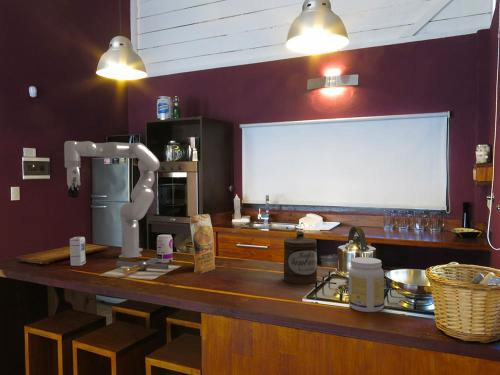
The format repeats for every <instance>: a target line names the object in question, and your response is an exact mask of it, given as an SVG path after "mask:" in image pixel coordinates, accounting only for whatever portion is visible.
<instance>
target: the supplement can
mask: <svg viewBox="0 0 500 375" xmlns="http://www.w3.org/2000/svg"><path fill="white" fill-rule="evenodd" d="M156 258H159V262H158V263H159V264H164V263H172V262H173V258H174V256H173V237H172V234H159V235H157V237H156Z"/></svg>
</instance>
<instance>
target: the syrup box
mask: <svg viewBox="0 0 500 375" xmlns="http://www.w3.org/2000/svg"><path fill="white" fill-rule="evenodd" d="M69 253H70V254H69V255H70V266H72V267H73V266H75V267H76V266H77V267H79V266H84V264H86V263H87V260H86V258H87V257H86V256H87V255H86V238H85V236H74V237H71V238H69Z"/></svg>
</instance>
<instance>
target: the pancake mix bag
mask: <svg viewBox="0 0 500 375" xmlns="http://www.w3.org/2000/svg"><path fill="white" fill-rule="evenodd" d="M188 223H189V229H190V240H191V243H192V244H191V245H192V248H193V249H192V250H193V273H196V272H198V273H197V274H198V275H200V274H204V273H208V272H210V271H213V270H215V269H216V264H215V260H216V259H215V239H214V230H213V225H212V219H211V215H210V213H204V214H194V215H191V216H190V217H189V222H188Z"/></svg>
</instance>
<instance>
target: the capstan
mask: <svg viewBox="0 0 500 375" xmlns="http://www.w3.org/2000/svg"><path fill="white" fill-rule="evenodd" d="M115 262H116V263H115V266H116V267H129V268H124V269H123V274H130V273H131V272H134V271H136V270H138V271H143V270H147V268H150V269H163V270H167V269H169V267H168V265H169V264H164V263H160V262H159V258H157V257H153V258H151V259H148V260H139V261H136V262H135V261H134V262H133V261H119V260H118V261H115Z"/></svg>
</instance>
